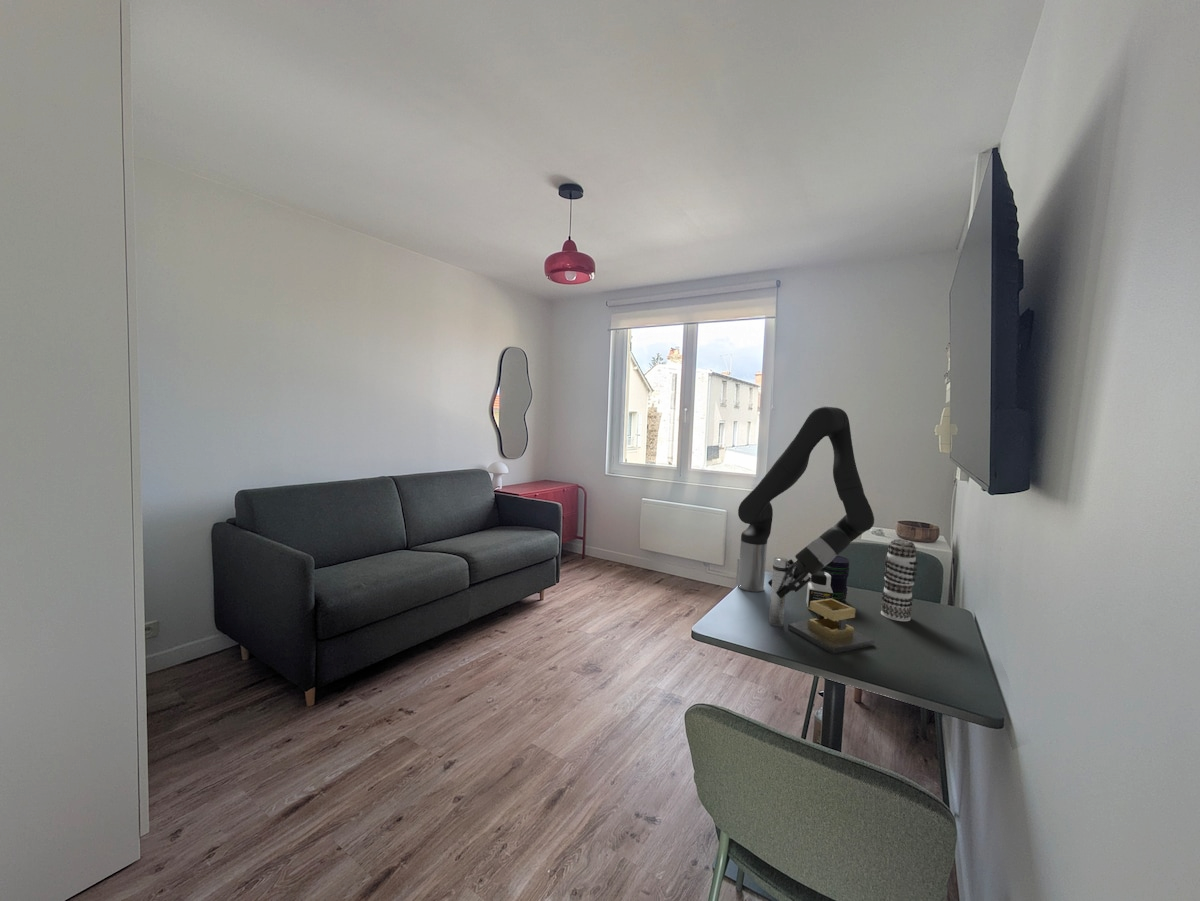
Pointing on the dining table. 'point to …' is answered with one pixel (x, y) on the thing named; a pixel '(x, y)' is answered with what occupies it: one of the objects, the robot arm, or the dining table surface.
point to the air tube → (777, 582)
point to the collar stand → (831, 627)
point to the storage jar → (838, 577)
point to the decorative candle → (899, 580)
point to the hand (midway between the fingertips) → (774, 590)
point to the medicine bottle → (819, 587)
